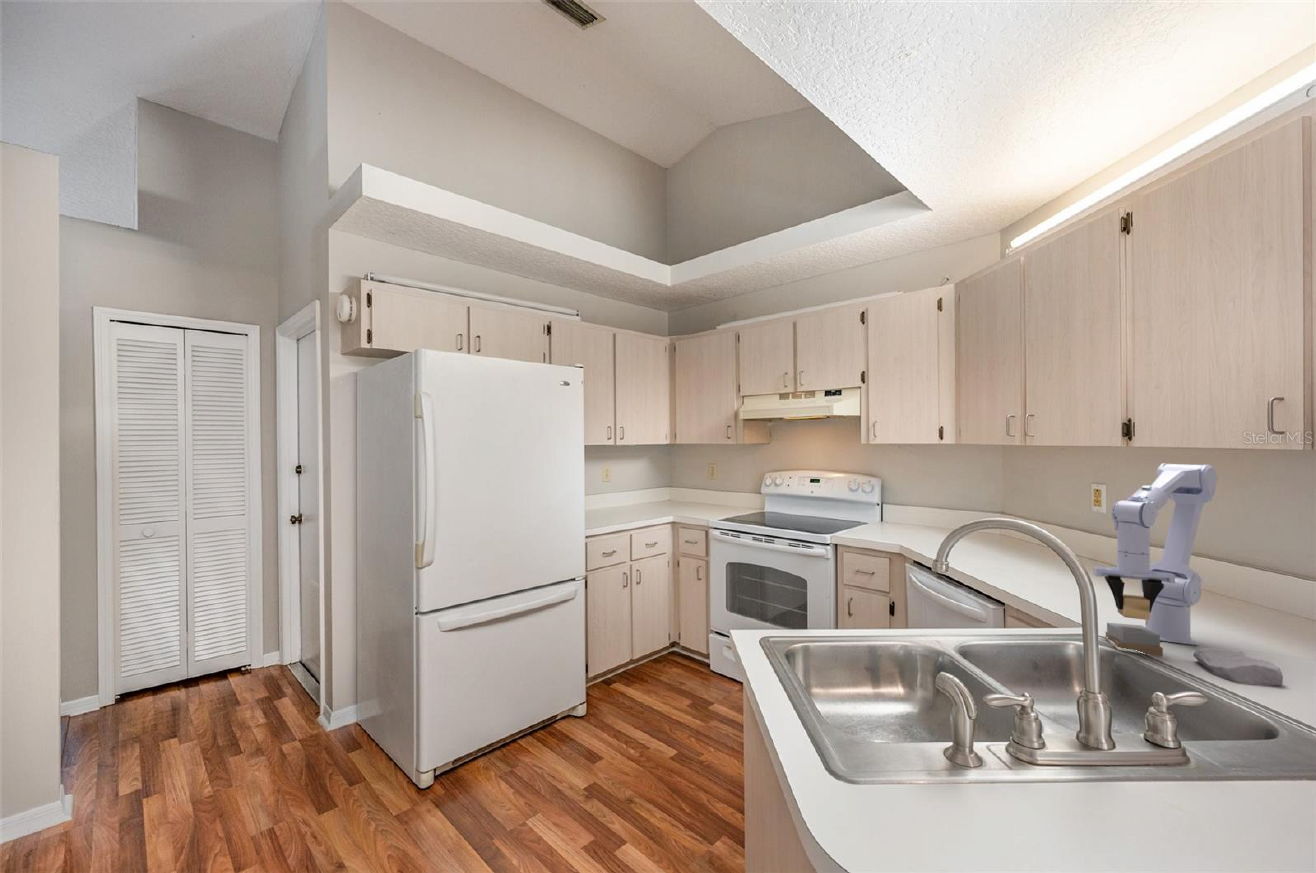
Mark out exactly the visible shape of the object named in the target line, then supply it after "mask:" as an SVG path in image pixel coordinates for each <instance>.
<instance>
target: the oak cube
mask: <svg viewBox="0 0 1316 873" xmlns="http://www.w3.org/2000/svg"><path fill="white" fill-rule="evenodd" d="M1117 613H1118V614H1120V615H1121V616H1122V617H1124V618H1127V619H1128V618H1129V619H1133V620H1134V619H1135V620H1144V621H1145V620H1150V601H1149V600H1148V599H1146V598H1145V597H1143V595H1140V594H1139V595H1137V594H1128V593H1123V610H1122V609H1118V608H1117Z"/></svg>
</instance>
